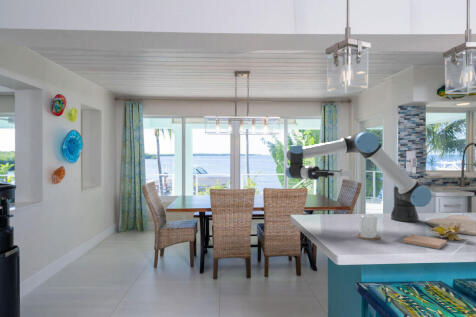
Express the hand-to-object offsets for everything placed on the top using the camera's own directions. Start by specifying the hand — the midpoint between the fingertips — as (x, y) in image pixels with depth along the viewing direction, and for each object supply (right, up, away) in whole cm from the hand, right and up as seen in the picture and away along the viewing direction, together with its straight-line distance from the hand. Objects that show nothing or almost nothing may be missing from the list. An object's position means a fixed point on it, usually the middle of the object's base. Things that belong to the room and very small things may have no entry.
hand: (347, 174), depth 159 cm
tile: (+22, -29, -16) cm, 40 cm away
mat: (+26, -30, -18) cm, 44 cm away
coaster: (+7, -30, -10) cm, 32 cm away
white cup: (+7, -30, -10) cm, 32 cm away
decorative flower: (+43, -30, -11) cm, 54 cm away
